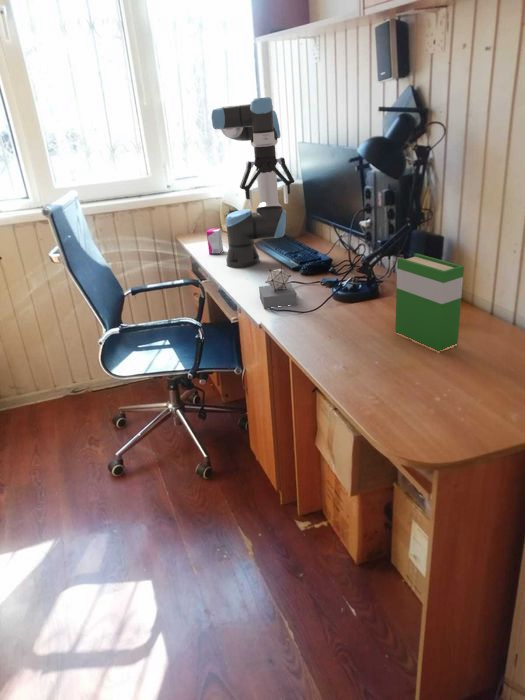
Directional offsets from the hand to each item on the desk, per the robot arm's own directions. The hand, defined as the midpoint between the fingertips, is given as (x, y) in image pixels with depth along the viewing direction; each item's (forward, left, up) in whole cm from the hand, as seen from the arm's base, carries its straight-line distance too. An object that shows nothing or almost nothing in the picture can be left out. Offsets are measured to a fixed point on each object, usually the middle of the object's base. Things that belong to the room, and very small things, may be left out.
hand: (268, 205), depth 203 cm
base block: (+17, -4, -32) cm, 36 cm away
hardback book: (+68, +27, -32) cm, 80 cm away
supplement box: (-62, -12, -32) cm, 71 cm away
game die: (+17, -3, -27) cm, 32 cm away
